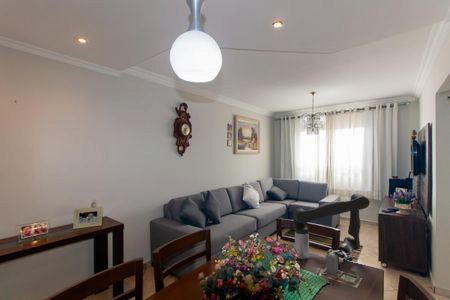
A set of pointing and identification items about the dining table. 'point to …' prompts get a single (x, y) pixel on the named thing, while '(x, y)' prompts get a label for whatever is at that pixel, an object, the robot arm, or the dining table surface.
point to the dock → (343, 278)
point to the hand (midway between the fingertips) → (336, 258)
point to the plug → (332, 264)
